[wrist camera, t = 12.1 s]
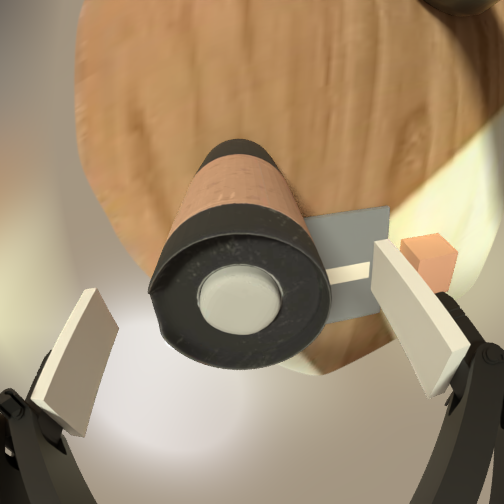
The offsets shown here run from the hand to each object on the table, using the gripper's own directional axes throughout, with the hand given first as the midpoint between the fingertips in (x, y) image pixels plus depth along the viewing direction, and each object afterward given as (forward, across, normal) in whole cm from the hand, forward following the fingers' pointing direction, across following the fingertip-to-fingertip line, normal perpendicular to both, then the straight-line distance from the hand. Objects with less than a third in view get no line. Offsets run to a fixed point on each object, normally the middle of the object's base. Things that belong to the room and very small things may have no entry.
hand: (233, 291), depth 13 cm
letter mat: (+18, +8, -14) cm, 24 cm away
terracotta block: (+18, +22, -14) cm, 32 cm away
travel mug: (+18, 0, 0) cm, 18 cm away
